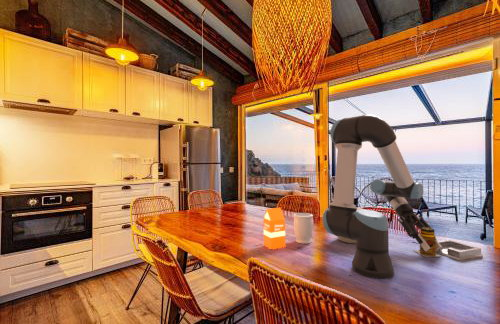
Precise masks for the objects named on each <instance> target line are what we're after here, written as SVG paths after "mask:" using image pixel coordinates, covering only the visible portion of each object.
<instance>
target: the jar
mask: <svg viewBox="0 0 500 324" xmlns="http://www.w3.org/2000/svg"><path fill="white" fill-rule="evenodd" d="M313 216H314V215H313V213H308V212H296V213H293V218H294V219H293V230H294V236H295V238H296V239H295V242H297V243H298V244H304V245H305V244H310V243H312V239H311V238H312V236H313V229H314V221H313Z"/></svg>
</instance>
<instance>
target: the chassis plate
mask: <svg viewBox="0 0 500 324" xmlns="http://www.w3.org/2000/svg"><path fill="white" fill-rule="evenodd" d="M438 243H439V244H440V245H441V246H442V247H441V248H439V249H438V250H436V254H437V255H440V256H444V257H448V258H450V259H454V260H456V261H463V260H470V259H475V258H480V257H481V258H482V257H483V256H484V255H483V253H482V248H481V247H477V246H474V245H469V244H466V243H461V242H458V241H454V240H452V239H447V240H440V241H438Z"/></svg>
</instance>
